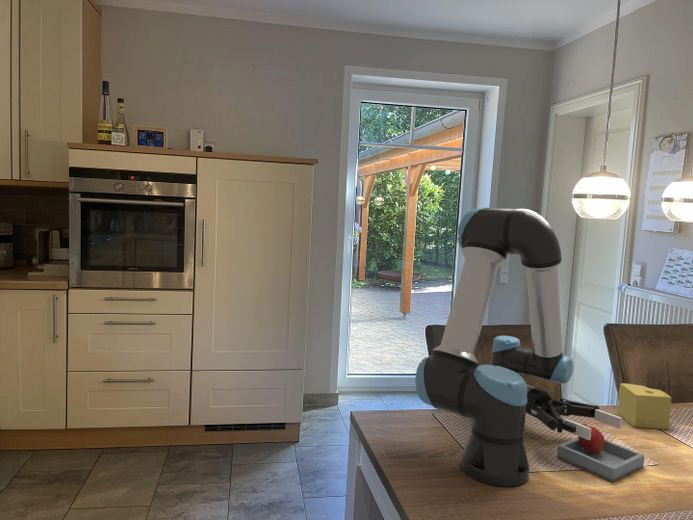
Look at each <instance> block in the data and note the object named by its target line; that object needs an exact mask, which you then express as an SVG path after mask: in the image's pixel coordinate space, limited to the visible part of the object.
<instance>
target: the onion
mask: <svg viewBox="0 0 693 520" xmlns="http://www.w3.org/2000/svg"><path fill="white" fill-rule="evenodd" d="M582 425H584V426H586V427H589V428H591V440H587V439H584V438H582V437H579V436H578V437H579V442H580V445H581V446H582V448H584V449H585V450H587V451H589V452H591V453H596V454H600V453H601V452H602V449H603V447H604V443H605V440H606V439H605V437H604V435H603V433H602V432H601V431H600V430H599V429H597V428H596V427H593V426H590V425H587V423H583V424H582ZM604 439H605V440H604Z"/></svg>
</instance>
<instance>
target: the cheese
mask: <svg viewBox="0 0 693 520" xmlns="http://www.w3.org/2000/svg"><path fill="white" fill-rule="evenodd" d="M617 398H618V411H619V413H618V414H619V417H621V418H622V419H624V420H625V421H626V422H627V423H629V424H630V425H631V426H633V427H634V428H643V429H659V430H668V429H669V426H670V418H671V410H672V397H671V396H670V395H669V394H667V393H666V392H665V391H662V390H661V389H655V388H649V387H647V386H645V385H639V384H633V383H624V382H623V383H620V384H619V389H618V397H617Z"/></svg>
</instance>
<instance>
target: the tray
mask: <svg viewBox="0 0 693 520" xmlns="http://www.w3.org/2000/svg"><path fill="white" fill-rule="evenodd" d="M604 440H605V443H604V447H603V449H602V452H601V453H600V454H596V453H591V452H589V451H587V450H585V449H584V448H582V446H581V445H580V442H579V436H577V437H576V438H573V439H570V440H567V441H566V442H565V441H564V442H563V443H560V444H558V445H557V453H556V456H557V458H559V459H561V458H562V459H561V460H563V459H564V461H565V460H566V461H565V462H568V463H570V462H571V463H570V464H572V463H573V464H572V465H574V464H575V465H574V466H577V467H579V468H581V469H584V470H586V471H588V472H590V473H592V474H595V475H597V476H599V477H601V478H603V479H606V480H607V481H610V482H612V483H614V482H617V481H618V480H620V479H622V478H624V477H627V476H628V475H630V474H632V473H634V472H637V471H638V470H640V469H643V468H644V465H645V464H644V463H645V454H643V453H640V452H638V451H635V450H632V449H631V448H627V447H625V446H623V445H621V444H617V443H614V442H612V441H609V440H607V439H605V438H604Z"/></svg>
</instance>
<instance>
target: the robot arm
mask: <svg viewBox="0 0 693 520" xmlns="http://www.w3.org/2000/svg"><path fill="white" fill-rule="evenodd" d="M457 235H458V236H457V243H458V245H459V247H460V248H461V254H462V256H463V257H464V261H463V265H462V268H461V272H460V275H459V279H458V282H457V285H456V290H455V292H454V296H453V300H452V303H451V307H450V311H449V314H448V317H447V321H446V324H445V328H444V332H443V335H442V338H441V342H440V345H438V346H436V347H435V348H433V349H432V352H431V355H430V356H427V357H424V358H422V360H421V362H419V363H418V366H417V369H416V370H415V371H416V372H415V378H414V380H415V382H414V383H415V389H416V393H417V395H418V398H419V399H420V400H421V402H423V403H424V404H426V405H429V406H430V407H432V408H434V409H437V410H442V411H445V412H448V413H450V414H454V415H457V416H460V417H464V418H466V419H469V420H471V426H470V427H471V431H470V435H469V437H468V440H467V441H466V444H465V447H464V449H463V451H462V454H461V461H460V462H461V469H462V470H463V472H464V473H465V474H467V475H468V476H469V477H471V478H472V479H474V480H476V481H478V482H481V483H484V484H487V485H491V486H497V487H516V486H520V485H523V484H525V483H527V481H529V478H530V464H529V460H528V456H527V451H526V447H525V442H524V436H525V424H526V414H528V415H529V416H531V417H534V418H536V419H537V420H539V422H541V423H542V424H543V425H545V426H546V427H547V428H548V429H549V430H551V431H556V432H557V433H559V434H562V433H563V431H566V432H567V433H569V434H573V435H574V436H577V437H582V438H584V439H587V440H591V428H589V427H586V426H584V425H583V424H582V423H581V424H580V423H578V422H576V421H573V420H570V419H568V418H565V419H564V418H562V417H563V416H564V417H570V416H577V417H583V418H584V417H585V418H591V419H594V420H595V421H597V422H599V423H602V424H605V425H608V426H611V427H614V428H615V429H618V430H620V429H622V421H623V417H621V416H618V415H614V414H612V413H609V412H606V411H603V410H600V406H599V405H597V404H591V403H590V404H589V403H584V402H579V401H574V400H569V399H566V398H563V397H560V398H559V400H558V399H552V398H551V395H550V394H549V392H547V391H546V390H543V389H540V388H537V387H534V386H532V385H529V384H527V383H526V380H525V379H524V377H523V376H521V375H525V376H529V377H533V378H537V379H540V380H541V379H542V380H545V381H549V382H551V383H557V384H562V385H565V384H567V383H568V382H569V381H570V380H571V378H572V376H573V371H574V361H573V358H571V357H570V356H567V355H565V354H564V355H563V339H562V337H563V335H562V321H561V303H560V287H559V286H560V285H559V268H558V267H559V265H561V264H562V260H563V259H562V250H561V246H560V242H559V238H558V237H557V235H556V233H555V231H554V229H553V228H552V227H551V225H550V223H549V222H548V221H547V220H546V219H545V218H544V217H543V216H542V215H540V214H538V212H535V211H533V210H531V209H527V208H497V207H496V208H493V207H492V208H491V207H482V208H480V207H479V208H473V209H471V210H469V211H467V212H466V213H465V214H464V215H463V216H462V218H461V220H460V222H459V224H458V228H457ZM508 255H519V257H520V263H521V266H522V267H524V268H525V270H526V271H525V273H526V285H527V296H528V306H529V318H530V319H529V320H530V330H531V341H532V348H528V347H525V346H521V341H520V339H519V338H517V337H515V336H510V335H498V336H496V337H494V338H493V342H492V350H491V364H480V365H479V361H478V360H477V358H476V356H475V353H476V350H477V345H478V342H479V338H480V334H481V332H482V331H481V330H482V327H483V323H484V320H485V317H486V313H487V308H488V305H489V300H490V297H491V294H492V290H493V287H494V282H495V279H496V274H497V271H498V267H500V266H502V265H504V264H505V263H506V260H507V257H508ZM520 374H521V375H520Z"/></svg>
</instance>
